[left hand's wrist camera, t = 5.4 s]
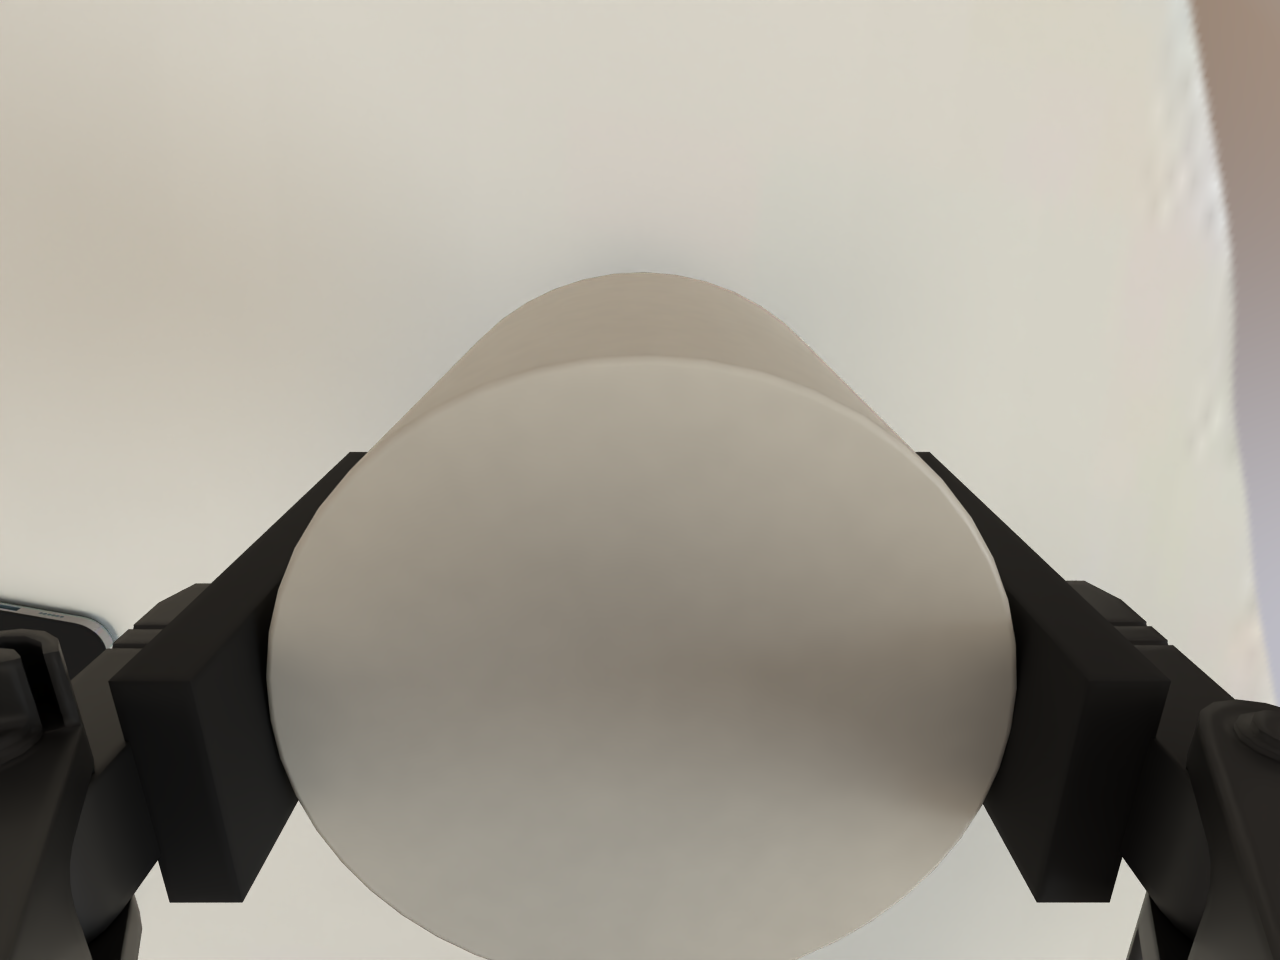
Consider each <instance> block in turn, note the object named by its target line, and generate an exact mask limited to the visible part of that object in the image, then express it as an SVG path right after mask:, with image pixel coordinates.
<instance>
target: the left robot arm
mask: <svg viewBox="0 0 1280 960" xmlns="http://www.w3.org/2000/svg"><path fill="white" fill-rule="evenodd" d="M366 453H367V452H349V453H348V454H347V455H346V456H345V457H344V458H343V459H342V460H341V461H340V462H339V463H338V464H337V465H336V466H335V467H334V468H333V469H332V470H330V471H329V472H328V473H327V474H326V475H325V476H324V477H323V478H322V479H321V480H320V481H319V482H318V483H317V484H316V485H315V486H314V487H313V488H311V489H310V490H309V491H308V492H307V493H306V494H305V495H304V496H303V497H302V498H301V499H300V500H299V501H298V502H297V503H296V504H295V505H294V506H292V507H291V508H290V509H289V510H288V511H287V512H286V513H285V514H284V515H283V516H282V517H281V518H280V519H279V520H278V521H277V522H276V523H274V524H273V525H272V526H271V527H270V528H269V529H268V530H267V531H266V532H265V533H264V534H263V535H262V536H261V537H260V538H259V539H258V540H257V541H255V542H254V543H253V544H252V545H251V546H250V547H249V548H248V549H247V550H246V551H245V552H244V553H243V554H242V555H241V556H240V557H239V558H238V559H236V560H235V561H234V562H233V563H232V564H231V565H230V566H229V567H228V568H227V569H226V570H225V571H224V572H223V573H222V574H221V575H220V576H219V577H217V578H216V579H215V580H214V581H213V582H212V583H211V584H194V585H192V586H190V587H188V588H186V589H184V590H182V591H180V592H178V593H177V594H175V595H173V596H171V597H169V598H167V599H165V600H163V601H161V602H159V603H158V604H157V605H156V606H155V607H153V608H152V609H151V610H150V611H149V612H148V613H147V614H145V615H144V616H143V617H142V618H141V619H140V620H139V621H138V622H136V623H135V624H134V628H133V629H128V630H127V631H126V632H125V633H124V634H123V635H122V636H121V637H119V638H118V639H117V640H116V641H115V642H114V643H113V647H112V648H107V649H106V650H105V651H104V652H102V653H101V654H100V655H99V656H98V657H97V658H96V659H95V660H93V661H92V662H91V663H90V664H89V665H88V666H87V667H85V668H84V669H83V670H82V671H81V672H80V673H79V674H78V675H76V676H75V677H74V678H73V679H72V680H70V677H69V674H68V670H67V667H66V664H65V660H64V657H63V654H62V650H61V647H60V644H59V640H58V638H56V637H54V636H53V635H51V634H49V633H47V632H46V631H40V630H29V629H14V630H5V631H0V960H138V953H139V946H140V940H141V933H142V924H141V918H140V911H139V908H138V905H137V901H136V898H135V895H134V893H135V892H136V890H137V889H138V887H139V886H140V885H141V883H142V882H143V880H144V879H145V877H146V876H147V875H148V873H149V872H150V870H151V869H152V868H153V866H154V865H155V863H156V862H157V860H158V862H159V866H160V869H161V873H162V876H163V880H164V884H165V887H166V891H167V894H168V898H169V902H170V903H184V902H243V901H244V899H245V897H246V895H247V893H248V891H249V890H250V888H251V886H252V884H253V882H254V881H255V879H256V877H257V875H258V873H259V871H260V870H261V868H262V866H263V864H264V862H265V860H266V859H267V857H268V855H269V853H270V851H271V849H272V848H273V846H274V844H275V842H276V840H277V839H278V837H279V835H280V833H281V831H282V829H283V828H284V826H285V824H286V822H287V820H288V818H289V817H290V815H291V813H292V811H293V809H294V808H295V806H296V804H297V802H298V798H297V797H296V795H295V792H294V790H293V787H292V785H291V783H290V780H289V778H288V776H287V773H286V771H285V768H284V766H283V764H282V761H281V759H280V755H279V751H278V747H277V744H276V740H275V736H274V732H273V728H272V724H271V720H270V712H269V702H268V691H267V681H266V671H267V654H268V637H269V629H270V624H271V620H272V615H273V611H274V606H275V602H276V597H277V593H278V589H279V586H280V584H281V581H282V579H283V576H284V574H285V571H286V569H287V566H288V564H289V561H290V559H291V556H292V554H293V551H294V549H295V547H296V545H297V544H298V542H299V540H300V538H301V537H302V535H303V533H304V532H305V530H306V528H307V527H308V525H309V523H310V522H311V520H312V518H313V517H314V515H315V513H316V512H317V510H318V508H319V507H320V506H321V504H322V503H323V502H324V501H325V500H326V498H327V497H328V496H329V495H330V494H331V492H332V491H333V490H334V489H335V488H336V486H337V485H338V484H339V483H340V482H341V480H342V479H343V478H344V477H345V475H346V474H347V473H348V472H349V471H350V470H351V469H352V468H353V467H354V466H355V465H356V464H357V463H358V462H359V461H360V460H361V459H362V458H363V457H364V455H365V454H366ZM915 453H916V454H917V455H918V456H919V457H920V458H921V459H922V460H923V461H924V462H925V463H926V464H927V465H928V466H929V467H930V468H931V469H932V470H933V471H934V472H935V473H936V474H937V475H938V476H939V477H940V478H941V479H942V480H943V481H944V482H945V484H946V485H947V486H948V488H949V489H950V490H951V491H952V493H953V494H954V495H955V497H956V498H957V499H958V501H959V502H960V503H961V505H962V506H963V507H964V508H965V510H966V511H967V512H968V514H969V515H970V516H971V518H972V520H973V521H974V523H975V525H976V527H977V529H978V531H979V532H980V534H981V536H982V538H983V540H984V542H985V543H986V545H987V547H988V549H989V551H990V553H991V555H992V556H993V558H994V561H995V564H996V567H997V570H998V573H999V575H1000V578H1001V581H1002V584H1003V587H1004V590H1005V592H1006V595H1007V598H1008V602H1009V607H1010V613H1011V619H1012V624H1013V630H1014V635H1015V641H1016V678H1017V690H1016V697H1015V704H1014V711H1013V718H1012V725H1011V730H1010V734H1009V737H1008V741H1007V744H1006V747H1005V751H1004V754H1003V758H1002V761H1001V764H1000V768H999V770H998V772H997V774H996V776H995V778H994V781H993V783H992V785H991V787H990V789H989V791H988V794H987V796H986V798H985V800H984V802H983V805H984V807H985V809H986V810H987V812H988V814H989V816H990V818H991V819H992V821H993V823H994V825H995V827H996V829H997V830H998V832H999V834H1000V836H1001V838H1002V840H1003V841H1004V843H1005V845H1006V847H1007V849H1008V851H1009V852H1010V854H1011V856H1012V858H1013V860H1014V861H1015V863H1016V865H1017V867H1018V869H1019V871H1020V872H1021V874H1022V876H1023V878H1024V880H1025V882H1026V883H1027V885H1028V887H1029V889H1030V891H1031V893H1032V894H1033V896H1034V898H1035V900H1036V902H1110V899H1111V896H1112V892H1113V888H1114V885H1115V881H1116V878H1117V874H1118V871H1119V867H1120V863H1121V860H1122V857H1123V858H1124V860H1125V861H1126V863H1127V864H1128V865H1129V867H1130V868H1131V870H1132V871H1133V873H1134V874H1135V875H1136V877H1137V878H1138V880H1139V881H1140V882H1141V884H1142V885H1143V887H1144V888H1145V889H1146V895H1145V898H1144V901H1143V905H1142V908H1141V911H1140V915H1139V918H1138V921H1137V925H1136V928H1135V931H1134V935H1133V938H1132V941H1131V945H1130V948H1129V952H1128V955H1127V958H1126V960H1280V707H1277V706H1274V705H1270V704H1267V703H1261V702H1253V701H1245V700H1237V699H1236V700H1235V699H1234V698H1233V697H1231V696H1230V695H1229V694H1228V693H1227V692H1226V691H1225V690H1224V689H1222V688H1221V687H1220V686H1219V685H1218V684H1217V683H1216V682H1214V681H1213V680H1212V679H1211V678H1210V677H1209V676H1208V675H1206V674H1205V673H1204V672H1203V671H1202V670H1201V669H1200V668H1198V667H1197V666H1196V665H1195V664H1194V663H1193V662H1192V661H1190V660H1189V659H1188V658H1187V657H1186V656H1185V655H1184V654H1182V653H1181V652H1180V651H1179V650H1178V649H1177V648H1176V647H1174V646H1173V645H1168V643H1167V642H1168V640H1166V639H1165V638H1164V637H1163V636H1162V635H1161V634H1160V633H1158V632H1157V631H1156V630H1155V629H1154V628H1153V627H1152V626H1147V625H1146V621H1145V620H1144V619H1143V618H1141V617H1140V616H1139V615H1138V614H1137V613H1136V612H1135V611H1133V610H1132V609H1131V608H1130V607H1129V606H1128V605H1127V604H1125V603H1124V602H1123V601H1122V600H1121V599H1119V598H1117V597H1115V596H1113V595H1111V594H1109V593H1107V592H1105V591H1103V590H1101V589H1099V588H1097V587H1095V586H1093V585H1091V584H1089V583H1088V582H1086V581H1065V580H1064V579H1063V578H1062V577H1061V576H1060V575H1059V574H1058V573H1057V572H1056V571H1055V570H1053V569H1052V568H1051V567H1050V566H1049V565H1048V564H1047V563H1046V562H1045V561H1044V560H1043V559H1042V558H1041V557H1040V556H1039V555H1038V554H1037V553H1036V552H1034V551H1033V550H1032V549H1031V548H1030V547H1029V546H1028V545H1027V544H1026V543H1025V542H1024V541H1023V540H1022V539H1021V538H1020V537H1019V536H1018V535H1017V534H1015V533H1014V532H1013V531H1012V530H1011V529H1010V528H1009V527H1008V526H1007V525H1006V524H1005V523H1004V522H1003V521H1002V520H1001V519H1000V518H999V517H998V516H996V515H995V514H994V513H993V512H992V511H991V510H990V509H989V508H988V507H987V506H986V505H985V504H984V503H983V502H982V501H981V500H980V499H979V498H977V497H976V496H975V495H974V494H973V493H972V492H971V491H970V490H969V489H968V488H967V487H966V486H965V485H964V484H963V483H962V482H961V481H960V480H958V479H957V478H956V477H955V476H954V475H953V474H952V473H951V472H950V471H949V470H948V469H947V468H946V467H945V466H944V465H943V464H942V463H940V462H939V461H938V460H937V459H936V458H935V457H934V456H933V455H932V454H931V453H930V452H915Z"/></svg>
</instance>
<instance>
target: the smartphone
mask: <svg viewBox="0 0 1280 960" xmlns="http://www.w3.org/2000/svg"><path fill="white" fill-rule="evenodd" d="M14 629H29V630H40V631H46V632H47V633H49V634H51V635H53V636H54V637H56V638H58V640H59V644H60V647H61V650H62V654H63V657H64V660H65V664H66V667H67V670H68V674H69V677H70V680H72V679H73V678H74V677H75V676H76V675H78V674H79V673H80V672H81V671H82V670H83V669H84V668H85V667H87V666H88V665H89V664H90V663H91V662H92V661H93V660H95V659H96V658H97V657H98V656H99V655H100V654H101V653H102V652H104V651H105V650H106V649H107V648H112V647H113V643H114V642H113V639H112V636H111V635H110V633H109V632H108V630H107V629H106V628H105V627H104V626H102V625H101V624H100V623H98V622H97V621H95V620H93V619H90V618H87V617H82V616H76V615H71V614H65V613H59V612H54V611H48V610H42V609H36V608H31V607H25V606H19V605H13V604H8V603H2V602H0V631H5V630H14Z"/></svg>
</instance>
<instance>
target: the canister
mask: <svg viewBox="0 0 1280 960" xmlns="http://www.w3.org/2000/svg"><path fill="white" fill-rule="evenodd" d="M266 681H267V691H268V702H269V712H270V720H271V724H272V728H273V732H274V736H275V740H276V744H277V747H278V751H279V755H280V759H281V761H282V764H283V766H284V768H285V771H286V773H287V776H288V778H289V780H290V783H291V785H292V787H293V790H294V792H295V795H296V797H297V798H298V800H299V802H300V803H301V805H302V807H303V808H304V810H305V812H306V813H307V815H308V817H309V818H310V820H311V822H312V823H313V825H314V827H315V828H316V830H317V831H318V833H319V834H320V835H321V837H322V838H323V839H324V840H325V842H326V843H327V844H328V845H329V847H330V848H331V849H332V850H333V852H334V853H335V854H336V856H337V857H338V858H339V859H340V861H341V862H342V863H343V864H344V865H345V866H346V867H347V868H348V869H349V870H350V871H351V872H352V873H353V874H354V875H355V876H356V877H357V878H358V879H359V880H360V881H361V882H362V883H363V884H364V885H365V886H366V887H368V888H369V889H370V890H371V891H372V892H373V893H374V894H376V895H377V896H378V897H380V898H381V899H382V900H383V901H385V902H386V903H387V904H389V905H390V906H391V907H392V908H394V909H395V910H396V911H398V912H399V913H400V914H401V915H403V916H404V917H406V918H408V919H409V920H411V921H412V922H414V923H416V924H417V925H419V926H421V927H422V928H424V929H426V930H427V931H429V932H430V933H432V934H434V935H435V936H437V937H439V938H441V939H443V940H445V941H447V942H449V943H451V944H454V945H456V946H458V947H460V948H462V949H464V950H466V951H468V952H470V953H472V954H474V955H477V956H480V957H483V958H486V959H488V960H795V959H798V958H801V957H803V956H805V955H807V954H810V953H812V952H814V951H816V950H819V949H821V948H823V947H825V946H827V945H830V944H832V943H834V942H836V941H838V940H840V939H842V938H843V937H845V936H847V935H849V934H850V933H852V932H854V931H855V930H857V929H859V928H861V927H862V926H864V925H866V924H868V923H869V922H871V921H873V920H874V919H875V918H877V917H878V916H879V915H881V914H882V913H884V912H885V911H886V910H888V909H889V908H890V907H892V906H893V905H894V904H896V903H897V902H898V901H900V900H901V899H903V898H904V897H905V896H906V895H907V894H908V893H910V892H911V891H912V890H913V889H914V888H915V887H916V886H917V885H918V884H919V883H920V882H921V881H922V880H924V879H925V878H926V877H927V876H928V875H929V874H930V873H931V872H932V871H933V870H934V869H935V868H936V867H937V866H938V865H939V863H940V862H941V861H942V860H943V859H944V857H945V856H946V855H947V854H948V853H949V852H950V850H951V849H952V848H953V847H954V846H955V844H956V843H957V842H958V841H959V840H960V839H961V837H962V835H963V834H964V832H965V831H966V829H967V828H968V826H969V825H970V823H971V821H972V820H973V818H974V817H975V815H976V814H977V812H978V811H979V809H980V807H981V806H982V804H983V802H984V800H985V798H986V796H987V794H988V791H989V789H990V787H991V785H992V783H993V781H994V778H995V776H996V774H997V772H998V770H999V768H1000V764H1001V761H1002V758H1003V754H1004V751H1005V747H1006V744H1007V741H1008V737H1009V734H1010V730H1011V725H1012V718H1013V711H1014V704H1015V697H1016V690H1017V678H1016V641H1015V635H1014V630H1013V624H1012V619H1011V613H1010V607H1009V602H1008V598H1007V595H1006V592H1005V590H1004V587H1003V584H1002V581H1001V578H1000V575H999V573H998V570H997V567H996V564H995V561H994V558H993V556H992V555H991V553H990V551H989V549H988V547H987V545H986V543H985V542H984V540H983V538H982V536H981V534H980V532H979V531H978V529H977V527H976V525H975V523H974V521H973V520H972V518H971V516H970V515H969V514H968V512H967V511H966V510H965V508H964V507H963V506H962V505H961V503H960V502H959V501H958V499H957V498H956V497H955V495H954V494H953V493H952V491H951V490H950V489H949V488H948V486H947V485H946V484H945V482H944V481H943V480H942V479H941V478H940V477H939V476H938V475H937V474H936V473H935V472H934V471H933V470H932V469H931V468H930V467H929V466H928V465H927V464H926V463H925V462H924V461H923V460H922V459H921V458H920V457H919V456H918V455H917V454H916V453H915V452H914V451H913V450H912V449H911V448H910V447H909V446H908V445H907V444H906V443H905V442H904V441H903V440H902V439H901V438H900V437H899V436H898V435H897V434H896V433H895V432H894V431H893V430H892V429H891V428H890V427H889V426H888V425H887V424H886V423H885V422H884V421H883V420H882V419H881V418H880V417H879V416H878V415H877V414H876V413H875V412H874V411H873V410H872V409H871V408H870V407H869V406H868V405H867V404H866V403H865V402H864V401H863V400H862V399H861V398H860V397H859V396H858V395H857V394H856V393H855V392H854V391H853V390H852V389H851V388H850V387H849V386H848V385H847V384H846V383H845V382H844V381H843V380H842V379H841V378H840V377H839V376H838V375H837V374H836V373H835V372H834V371H833V370H832V369H831V368H830V367H829V366H828V365H827V364H826V363H825V362H824V361H823V360H822V359H821V358H820V357H819V356H818V355H817V354H816V353H815V352H814V351H813V350H812V349H811V348H810V347H809V346H808V345H807V344H806V343H805V342H804V341H803V340H802V339H801V338H799V337H798V336H797V335H796V334H795V333H794V332H793V331H792V330H791V329H790V328H789V327H788V326H787V325H786V324H785V323H783V322H782V321H781V320H779V319H778V318H777V317H775V316H774V315H772V314H771V313H770V312H768V311H767V310H766V309H764V308H763V307H761V306H760V305H758V304H756V303H754V302H752V301H750V300H748V299H746V298H745V297H743V296H741V295H739V294H737V293H735V292H733V291H730V290H727V289H725V288H722V287H719V286H716V285H714V284H711V283H708V282H705V281H701V280H696V279H692V278H687V277H683V276H678V275H671V274H659V273H647V272H641V273H621V274H610V275H605V276H600V277H594V278H589V279H584V280H581V281H578V282H575V283H572V284H569V285H566V286H563V287H559V288H556V289H554V290H552V291H550V292H548V293H546V294H543V295H541V296H539V297H537V298H535V299H533V300H531V301H529V302H527V303H526V304H524V305H523V306H521V307H520V308H518V309H517V310H515V311H514V312H512V313H511V314H509V315H508V316H506V317H505V318H503V319H502V320H501V321H500V322H499V323H498V324H496V325H495V326H494V327H493V328H492V329H491V330H490V331H489V332H488V333H486V334H485V335H484V336H483V337H482V338H481V339H480V340H479V341H478V342H477V343H476V344H475V345H474V346H473V347H472V348H471V349H470V350H469V351H468V352H467V353H466V354H465V355H464V356H463V357H462V358H461V359H460V360H459V361H458V362H457V363H456V364H455V365H454V366H453V367H452V368H451V369H450V370H449V371H448V372H447V373H446V374H445V375H444V376H443V377H442V378H441V379H440V380H439V381H438V382H437V383H436V384H435V385H434V386H433V387H432V388H431V389H430V390H429V391H428V392H427V393H426V394H425V395H424V396H423V397H422V398H421V399H420V400H419V401H418V402H417V403H416V404H415V405H414V406H413V407H412V408H411V409H410V410H409V411H408V412H407V413H406V414H405V415H404V416H403V417H402V418H401V419H400V420H399V421H398V422H397V423H396V424H395V425H394V426H393V427H392V428H391V429H390V430H389V431H388V432H387V433H386V434H385V435H384V436H383V437H382V438H381V439H380V440H379V441H378V442H377V443H376V444H375V445H374V446H373V447H372V448H371V449H370V450H369V451H368V452H367V453H366V454H365V455H364V457H363V458H362V459H361V460H360V461H359V462H358V463H357V464H356V465H355V466H354V467H353V468H352V469H351V470H350V471H349V472H348V473H347V474H346V475H345V477H344V478H343V479H342V480H341V482H340V483H339V484H338V485H337V486H336V488H335V489H334V490H333V491H332V492H331V494H330V495H329V496H328V497H327V498H326V500H325V501H324V502H323V503H322V504H321V506H320V507H319V508H318V510H317V512H316V513H315V515H314V517H313V518H312V520H311V522H310V523H309V525H308V527H307V528H306V530H305V532H304V533H303V535H302V537H301V538H300V540H299V542H298V544H297V545H296V547H295V549H294V551H293V554H292V556H291V559H290V561H289V564H288V566H287V569H286V571H285V574H284V576H283V579H282V581H281V584H280V586H279V589H278V593H277V597H276V602H275V606H274V611H273V615H272V620H271V624H270V629H269V637H268V654H267V671H266Z"/></svg>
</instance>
